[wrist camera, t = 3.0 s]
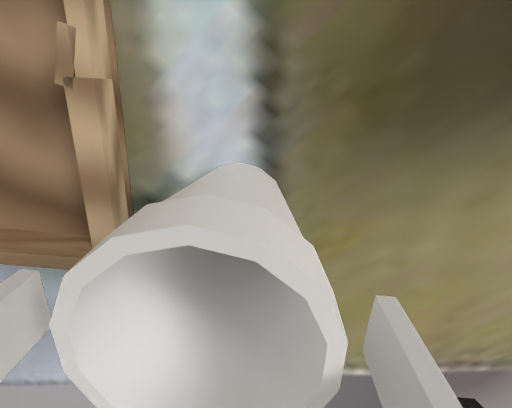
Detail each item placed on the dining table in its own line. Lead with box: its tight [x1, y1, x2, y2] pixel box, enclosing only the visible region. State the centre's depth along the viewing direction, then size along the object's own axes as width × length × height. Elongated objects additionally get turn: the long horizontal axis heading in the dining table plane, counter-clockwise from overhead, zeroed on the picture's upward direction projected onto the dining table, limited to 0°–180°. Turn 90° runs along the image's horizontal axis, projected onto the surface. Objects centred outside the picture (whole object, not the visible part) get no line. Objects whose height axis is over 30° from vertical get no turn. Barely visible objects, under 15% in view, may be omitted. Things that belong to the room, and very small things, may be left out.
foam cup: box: [49, 162, 348, 408], centre depth 15 cm, size 10×9×13 cm
